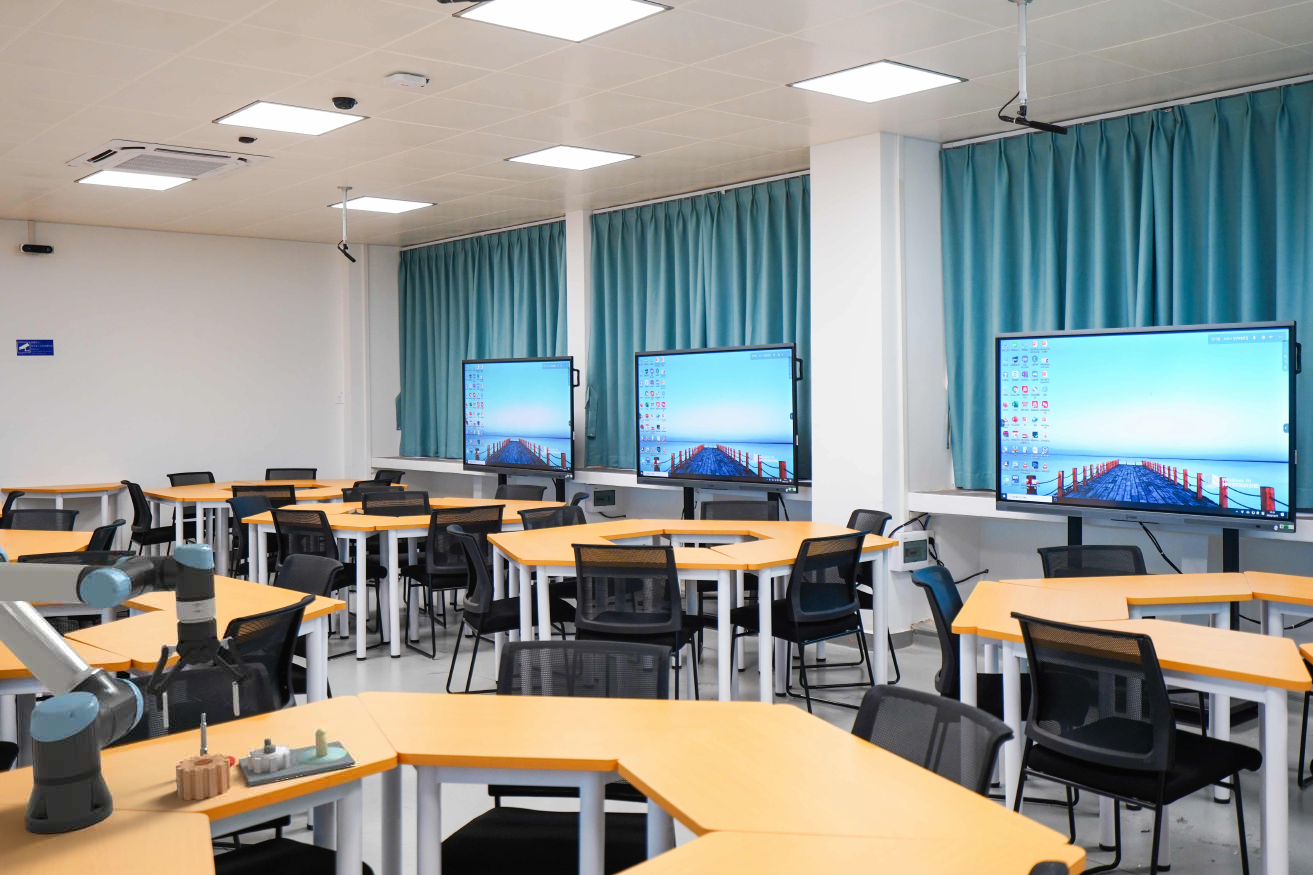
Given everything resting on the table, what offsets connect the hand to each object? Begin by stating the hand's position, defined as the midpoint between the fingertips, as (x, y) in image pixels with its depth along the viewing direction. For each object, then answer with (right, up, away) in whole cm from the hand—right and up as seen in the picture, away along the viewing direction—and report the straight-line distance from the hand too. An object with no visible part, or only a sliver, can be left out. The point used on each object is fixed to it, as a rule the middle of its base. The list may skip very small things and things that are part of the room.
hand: (201, 719), depth 218 cm
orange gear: (0, -15, +1) cm, 15 cm away
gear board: (+15, -14, +15) cm, 25 cm away
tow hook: (-4, -15, +15) cm, 22 cm away
